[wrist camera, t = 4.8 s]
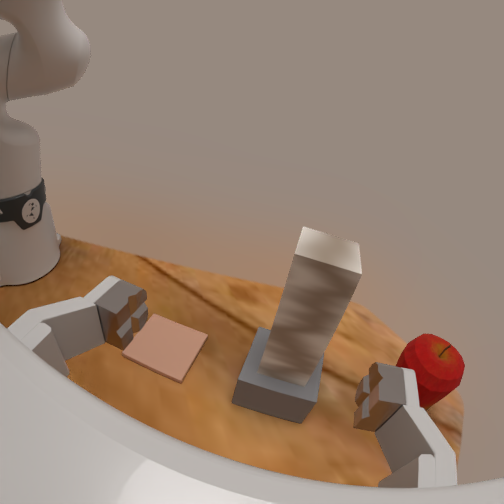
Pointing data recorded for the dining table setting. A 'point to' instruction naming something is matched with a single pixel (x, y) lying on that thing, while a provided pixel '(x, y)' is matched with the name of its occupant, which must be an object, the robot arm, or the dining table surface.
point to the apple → (432, 367)
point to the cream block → (311, 305)
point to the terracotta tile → (166, 347)
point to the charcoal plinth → (274, 387)
